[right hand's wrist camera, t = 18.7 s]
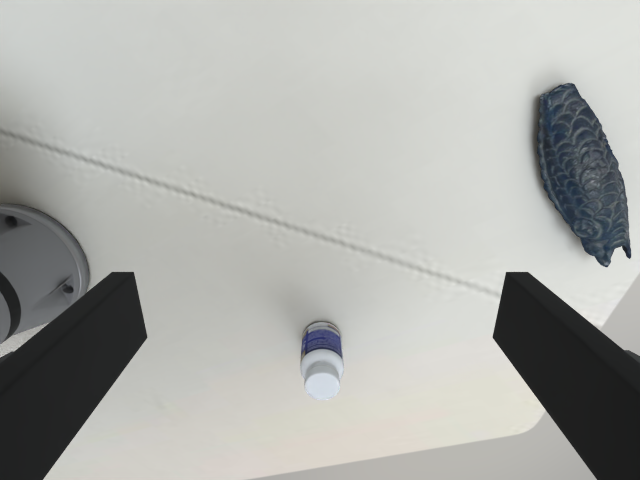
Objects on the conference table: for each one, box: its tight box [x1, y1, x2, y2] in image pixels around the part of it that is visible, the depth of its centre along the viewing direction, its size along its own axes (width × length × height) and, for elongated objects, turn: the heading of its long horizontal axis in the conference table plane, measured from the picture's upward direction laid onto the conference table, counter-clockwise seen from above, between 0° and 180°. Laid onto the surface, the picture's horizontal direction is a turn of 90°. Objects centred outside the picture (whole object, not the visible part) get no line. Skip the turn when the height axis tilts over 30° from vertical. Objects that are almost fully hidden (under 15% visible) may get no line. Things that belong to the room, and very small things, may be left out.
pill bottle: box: [300, 322, 344, 400], centre depth 44 cm, size 5×5×9 cm
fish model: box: [537, 83, 631, 267], centre depth 38 cm, size 7×21×5 cm, turn 29°
